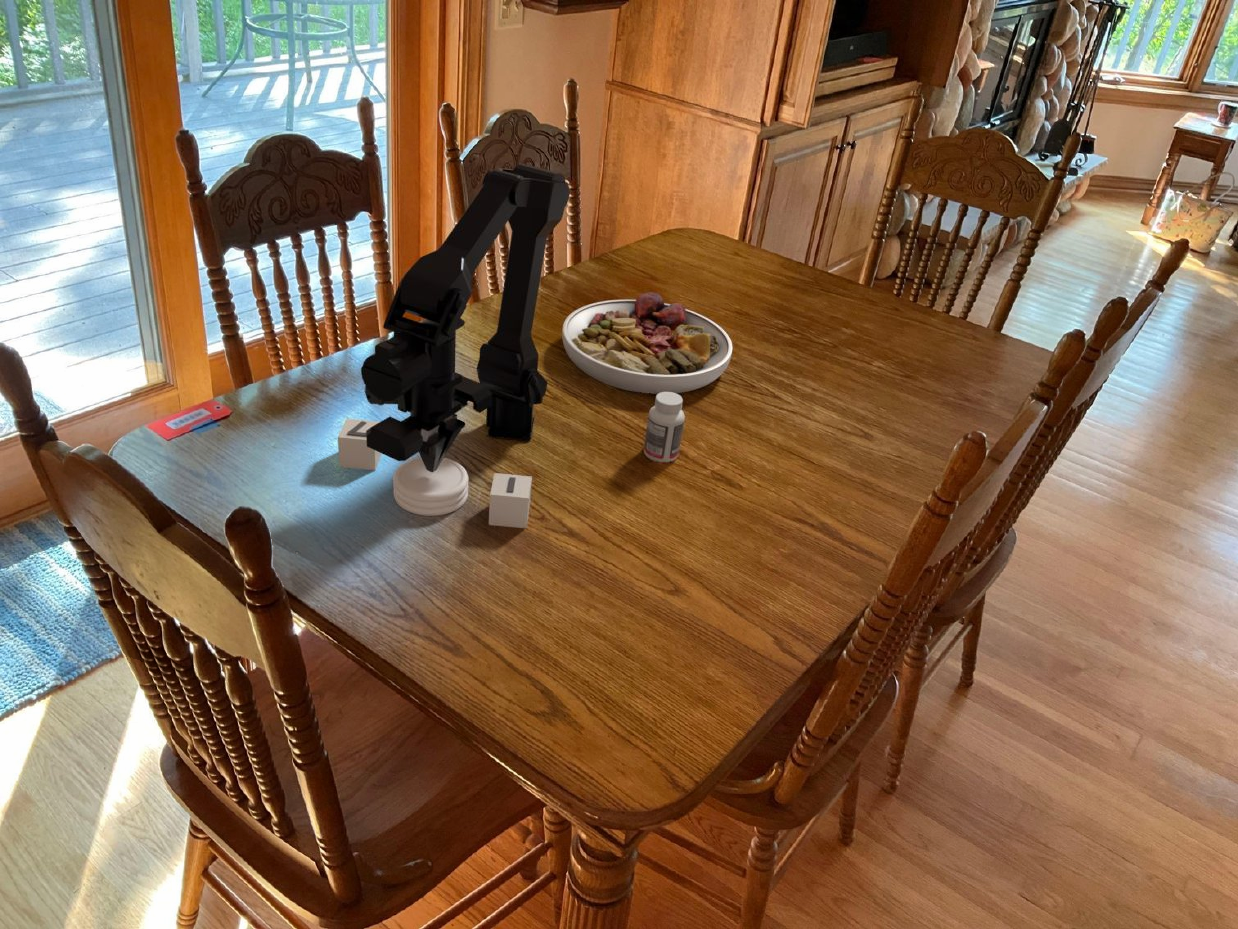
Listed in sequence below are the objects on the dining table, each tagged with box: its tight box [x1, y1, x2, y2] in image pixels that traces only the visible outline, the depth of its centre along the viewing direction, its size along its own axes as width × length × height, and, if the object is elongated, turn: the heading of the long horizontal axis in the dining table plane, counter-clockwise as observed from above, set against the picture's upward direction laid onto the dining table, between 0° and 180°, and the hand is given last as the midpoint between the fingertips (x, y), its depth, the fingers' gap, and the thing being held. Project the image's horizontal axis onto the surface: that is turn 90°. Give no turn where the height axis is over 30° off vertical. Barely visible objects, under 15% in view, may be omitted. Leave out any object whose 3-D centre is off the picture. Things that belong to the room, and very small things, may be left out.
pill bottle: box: [643, 392, 686, 463], centre depth 145 cm, size 5×5×10 cm
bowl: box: [561, 291, 733, 395], centre depth 172 cm, size 30×30×8 cm
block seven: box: [337, 418, 382, 471], centre depth 137 cm, size 5×5×5 cm
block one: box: [488, 472, 533, 529], centre depth 130 cm, size 5×5×5 cm
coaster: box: [392, 456, 469, 517], centre depth 132 cm, size 10×10×4 cm
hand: (431, 470), depth 131 cm, fingers closed
